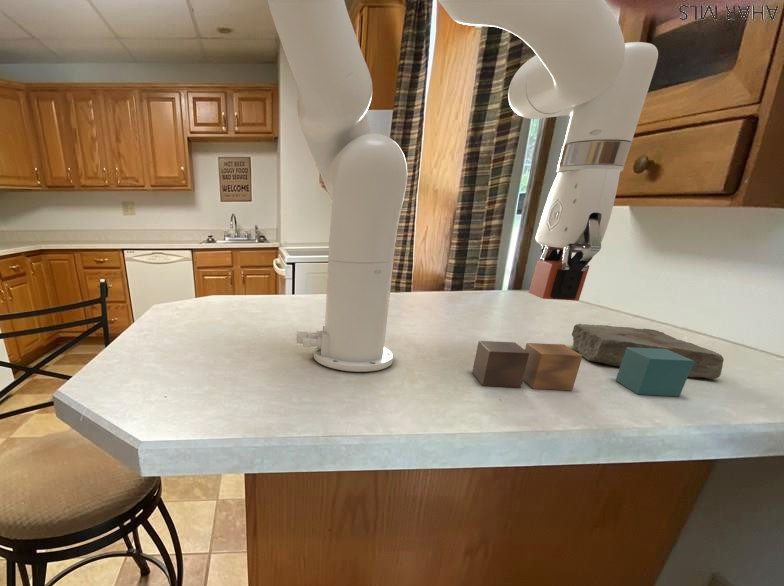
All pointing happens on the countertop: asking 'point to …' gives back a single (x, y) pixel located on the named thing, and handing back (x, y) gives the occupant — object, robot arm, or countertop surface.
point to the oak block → (551, 366)
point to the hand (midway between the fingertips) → (553, 293)
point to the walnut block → (500, 364)
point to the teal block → (654, 371)
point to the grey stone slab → (613, 342)
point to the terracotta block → (550, 279)
